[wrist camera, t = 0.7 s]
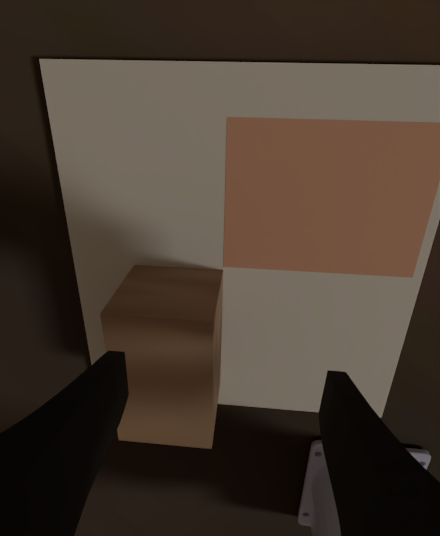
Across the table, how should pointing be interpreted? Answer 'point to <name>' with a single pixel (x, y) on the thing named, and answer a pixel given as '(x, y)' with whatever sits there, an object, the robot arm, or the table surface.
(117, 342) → the box
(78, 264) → the card mat
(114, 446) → the table surface
